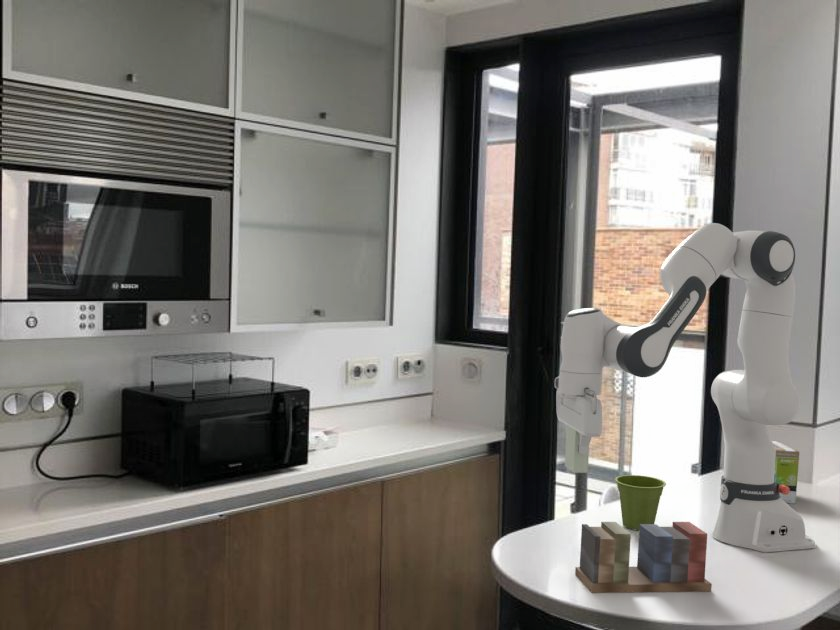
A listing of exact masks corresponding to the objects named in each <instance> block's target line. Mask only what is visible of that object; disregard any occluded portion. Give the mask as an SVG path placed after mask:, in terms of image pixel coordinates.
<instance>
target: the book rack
mask: <svg viewBox="0 0 840 630" xmlns="http://www.w3.org/2000/svg"><path fill="white" fill-rule="evenodd" d="M631 536H632V533H631V532H629V531H628V530H627V529H626V528H624V526H623V525H620V524H619V523H618V522H617V521H601V523H600V526H589V524H587V523H585V524H584V523H582V524H581V537H580V553H579V554H580V558H579V566H575V570H574V573H575V574H574V575H576V577H577V578H578V579H579V581H580V582H581V583H582V584H583V585H584V586H585V588H587V589H588V590H589V592H590V593H595V594H599V593H601V594H602V593H607V594H608V593H609V594H611V593H612V594H613V593H681V592H683V593H686V592H687V593H688V592H689V593H692V592H695V593H697V592H698V593H699V592H702V593H703V592H712V585H713V584H712V583H711V582H710V581H709V580H708V579H706V577H705V575H706V562H707V561H706V560H707V559H706V558H707V547H708V546H707V544H708V533H707V532H705V531H704V530H702V529H701V528H700V527H698V526H696V525H695V524H694V523H692V522H691V521H672V525H671V526H659V525H658V524H656V523H654V524H640V525H639V531H638V545H637V546H638V547H637V560H636V561H637V563H636V566H630V557H631V556H630V554H631V540H632V539H631Z"/></svg>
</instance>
